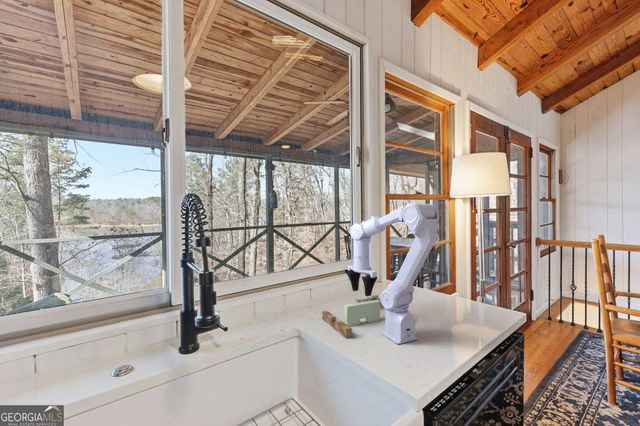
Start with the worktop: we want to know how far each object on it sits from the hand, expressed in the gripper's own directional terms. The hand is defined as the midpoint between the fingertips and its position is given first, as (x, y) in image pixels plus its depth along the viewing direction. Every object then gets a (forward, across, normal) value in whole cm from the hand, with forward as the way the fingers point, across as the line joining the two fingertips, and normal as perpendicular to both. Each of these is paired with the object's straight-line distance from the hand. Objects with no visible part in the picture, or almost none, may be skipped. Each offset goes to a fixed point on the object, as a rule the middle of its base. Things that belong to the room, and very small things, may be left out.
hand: (361, 293), depth 108 cm
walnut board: (+10, 0, +12) cm, 15 cm away
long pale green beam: (+10, -1, +1) cm, 10 cm away
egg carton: (+11, +11, -12) cm, 20 cm away
